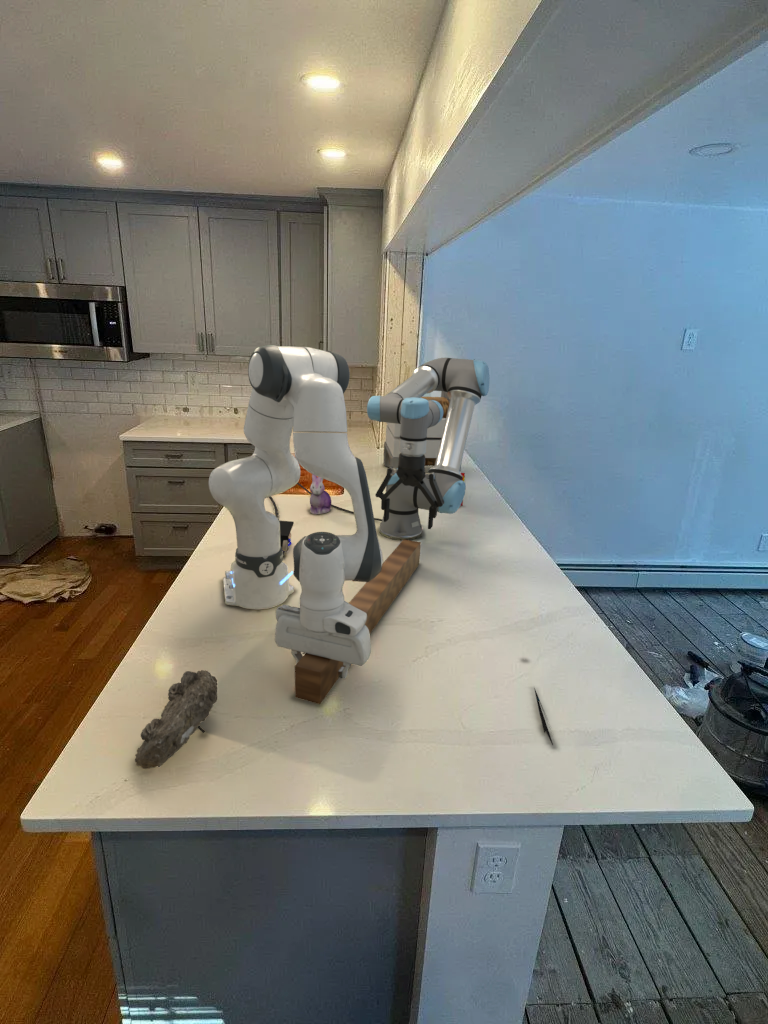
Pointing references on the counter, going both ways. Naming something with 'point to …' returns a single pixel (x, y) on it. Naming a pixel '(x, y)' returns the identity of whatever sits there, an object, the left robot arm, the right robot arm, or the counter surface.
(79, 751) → the counter surface
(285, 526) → the figurine character
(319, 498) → the figurine
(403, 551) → the post
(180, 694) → the fossil
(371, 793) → the counter surface
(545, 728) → the feather
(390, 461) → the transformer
